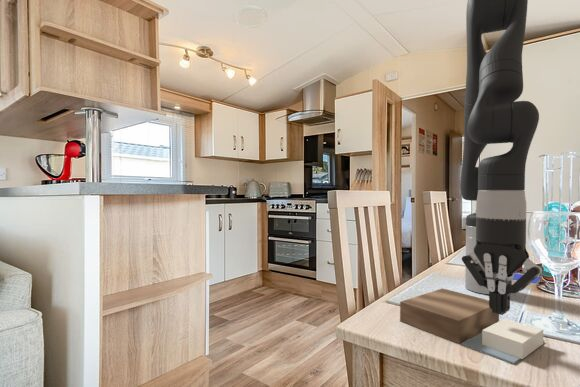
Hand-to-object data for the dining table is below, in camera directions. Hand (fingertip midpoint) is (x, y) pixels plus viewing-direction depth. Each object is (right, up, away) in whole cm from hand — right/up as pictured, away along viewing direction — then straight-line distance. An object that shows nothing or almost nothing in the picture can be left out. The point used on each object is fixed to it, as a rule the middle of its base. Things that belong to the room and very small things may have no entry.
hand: (499, 312), depth 59 cm
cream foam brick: (+1, -2, -2) cm, 3 cm away
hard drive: (+31, -6, +42) cm, 53 cm away
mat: (0, -5, -1) cm, 5 cm away
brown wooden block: (-5, -5, +8) cm, 11 cm away
